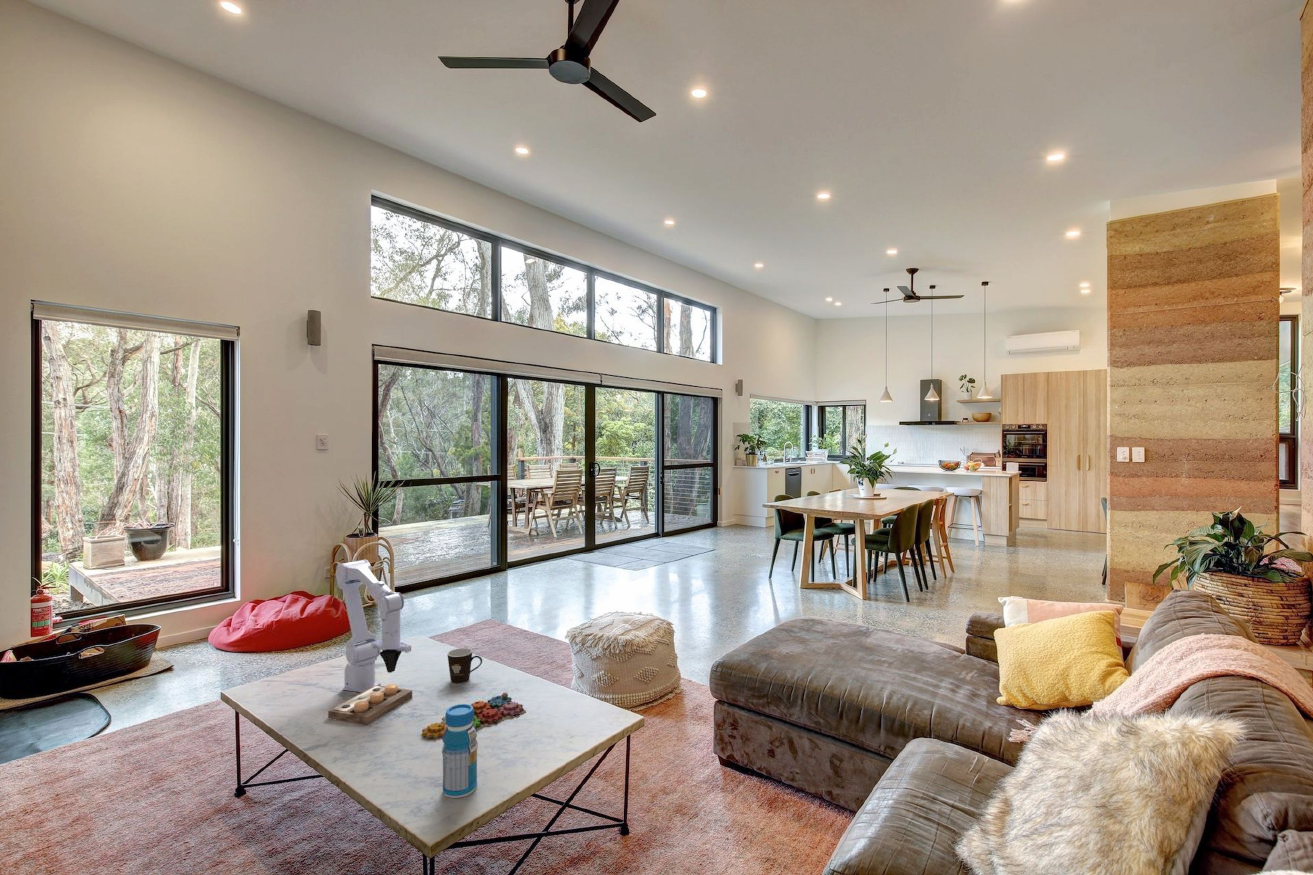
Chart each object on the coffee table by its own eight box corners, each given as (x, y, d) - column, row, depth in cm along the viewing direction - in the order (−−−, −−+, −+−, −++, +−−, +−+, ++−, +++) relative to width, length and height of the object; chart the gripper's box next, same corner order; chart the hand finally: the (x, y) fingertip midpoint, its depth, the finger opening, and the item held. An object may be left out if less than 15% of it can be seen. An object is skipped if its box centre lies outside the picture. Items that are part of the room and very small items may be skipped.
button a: (351, 712, 185) (351, 705, 185) (361, 706, 189) (361, 699, 189) (361, 714, 184) (361, 706, 184) (371, 708, 188) (371, 701, 188)
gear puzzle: (432, 749, 169) (432, 734, 169) (410, 728, 181) (410, 715, 181) (528, 713, 190) (528, 701, 190) (503, 697, 202) (503, 685, 202)
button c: (381, 694, 198) (381, 688, 198) (390, 689, 202) (390, 683, 202) (391, 696, 197) (391, 689, 197) (400, 691, 201) (400, 684, 201)
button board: (328, 718, 186) (328, 709, 186) (375, 692, 205) (375, 683, 205) (367, 725, 182) (367, 716, 182) (412, 697, 201) (412, 689, 201)
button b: (367, 703, 192) (367, 696, 192) (376, 698, 196) (376, 691, 196) (377, 704, 191) (377, 698, 191) (386, 699, 194) (386, 692, 194)
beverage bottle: (448, 803, 143) (447, 720, 143) (437, 786, 150) (437, 707, 150) (482, 791, 148) (482, 710, 148) (471, 775, 155) (470, 698, 155)
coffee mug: (442, 681, 214) (442, 654, 214) (460, 673, 221) (460, 646, 221) (466, 688, 208) (466, 659, 208) (483, 679, 216) (483, 651, 216)
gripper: (364, 632, 197) (364, 673, 197) (400, 636, 193) (400, 678, 193) (379, 625, 204) (380, 665, 204) (415, 629, 200) (415, 670, 200)
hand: (391, 671), depth 199 cm, fingers closed
